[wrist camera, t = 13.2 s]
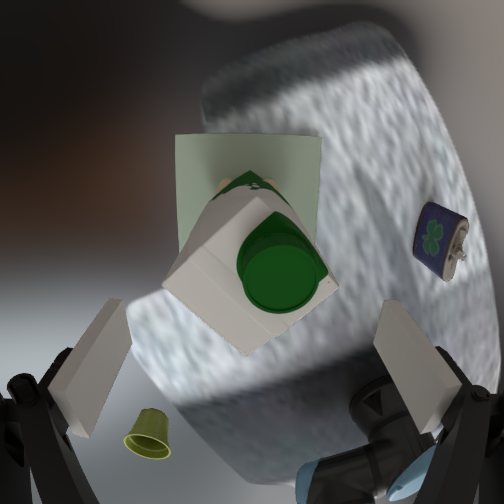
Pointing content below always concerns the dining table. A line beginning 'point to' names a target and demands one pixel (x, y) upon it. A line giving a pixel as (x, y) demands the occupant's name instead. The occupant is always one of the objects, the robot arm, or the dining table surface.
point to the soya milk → (249, 265)
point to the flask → (440, 239)
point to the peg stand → (239, 162)
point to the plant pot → (149, 435)
